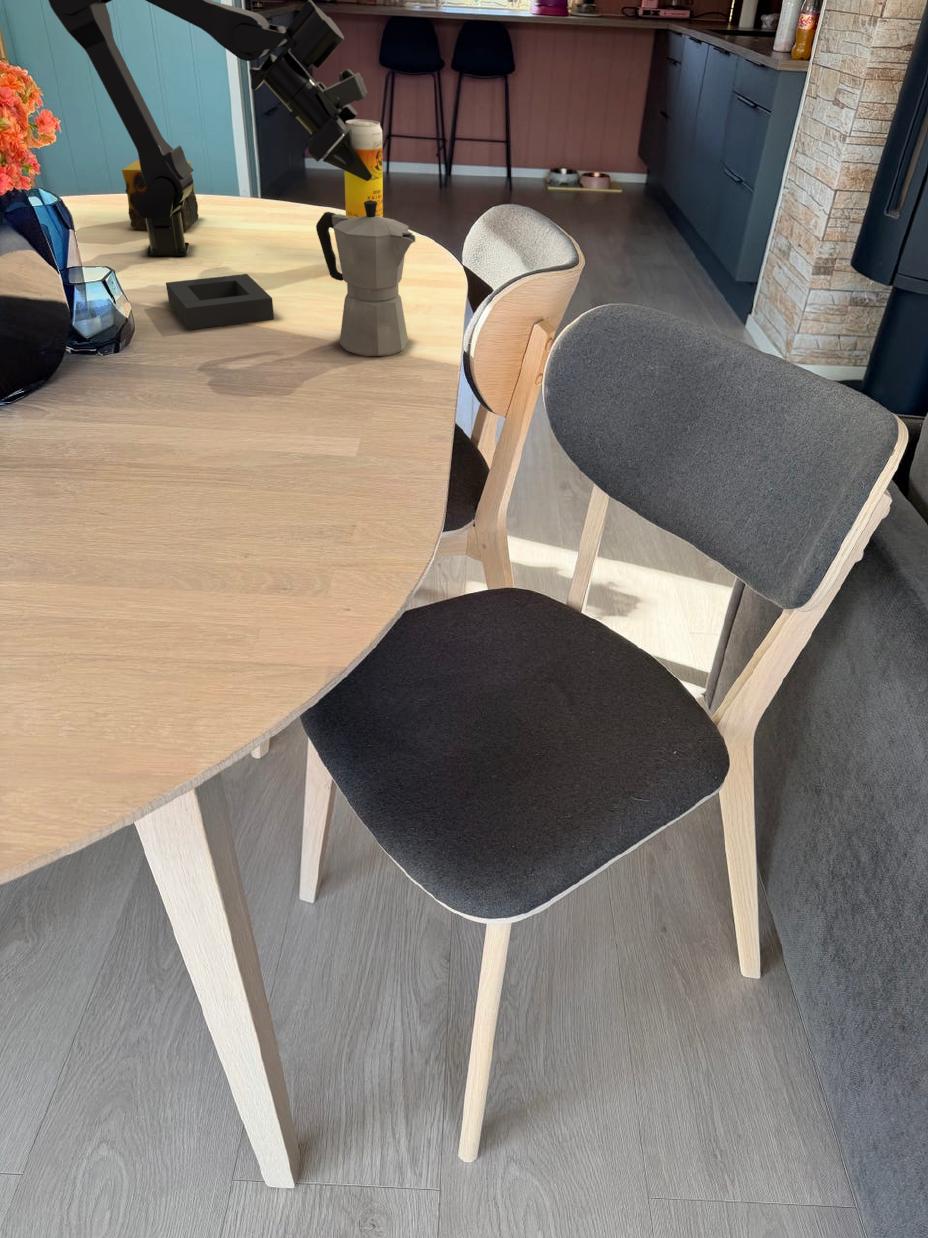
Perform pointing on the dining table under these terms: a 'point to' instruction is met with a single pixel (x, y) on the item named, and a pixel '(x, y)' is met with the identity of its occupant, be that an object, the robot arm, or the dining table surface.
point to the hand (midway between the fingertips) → (372, 174)
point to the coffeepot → (368, 278)
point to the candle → (138, 188)
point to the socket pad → (219, 301)
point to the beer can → (370, 151)
